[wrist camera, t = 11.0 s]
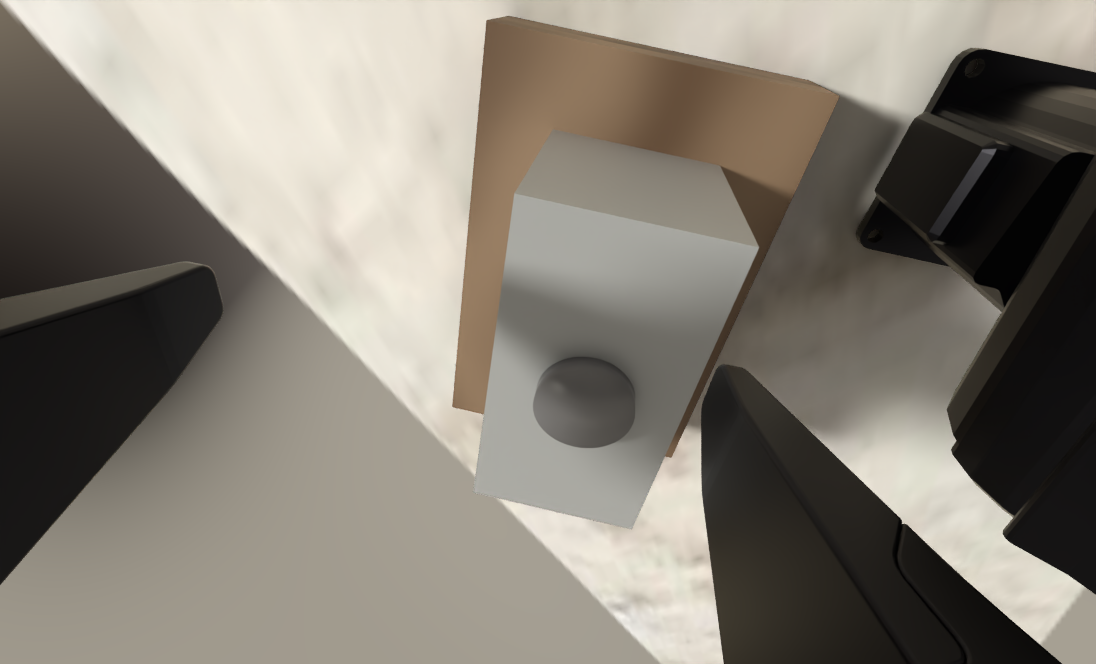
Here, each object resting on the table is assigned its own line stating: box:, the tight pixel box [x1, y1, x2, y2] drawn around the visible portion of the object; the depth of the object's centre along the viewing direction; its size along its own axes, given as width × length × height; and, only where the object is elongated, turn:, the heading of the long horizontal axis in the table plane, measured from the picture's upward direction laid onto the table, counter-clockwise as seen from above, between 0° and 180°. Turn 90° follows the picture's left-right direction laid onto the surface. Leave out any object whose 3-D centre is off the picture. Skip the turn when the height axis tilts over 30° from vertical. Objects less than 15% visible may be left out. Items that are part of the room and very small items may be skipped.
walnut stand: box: [452, 16, 840, 457], centre depth 20 cm, size 10×15×3 cm, turn 170°
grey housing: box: [473, 129, 759, 529], centre depth 16 cm, size 10×5×7 cm, turn 170°
